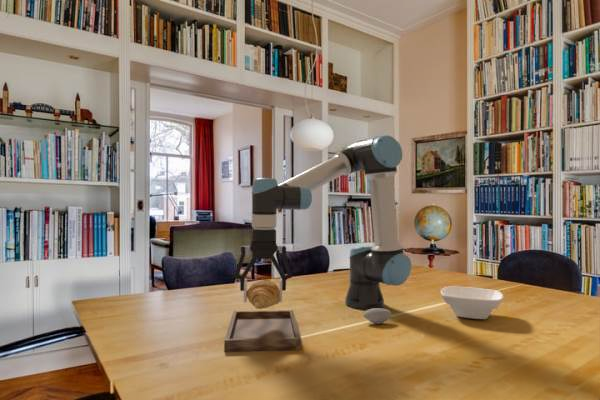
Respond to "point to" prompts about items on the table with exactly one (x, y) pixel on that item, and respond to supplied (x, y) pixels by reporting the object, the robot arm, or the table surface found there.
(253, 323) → the tray
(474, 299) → the bowl
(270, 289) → the croissant
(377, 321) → the stone
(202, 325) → the table surface
